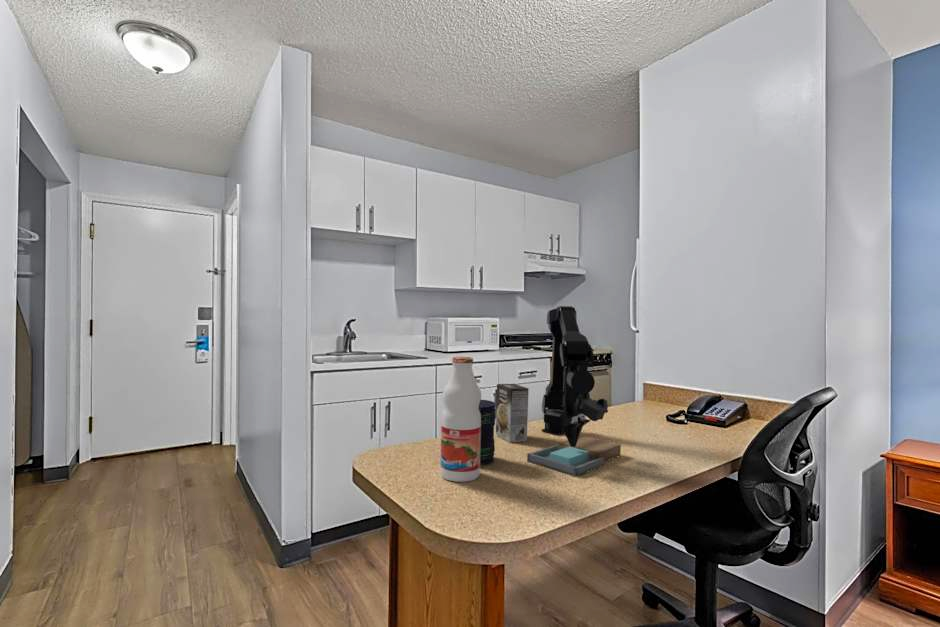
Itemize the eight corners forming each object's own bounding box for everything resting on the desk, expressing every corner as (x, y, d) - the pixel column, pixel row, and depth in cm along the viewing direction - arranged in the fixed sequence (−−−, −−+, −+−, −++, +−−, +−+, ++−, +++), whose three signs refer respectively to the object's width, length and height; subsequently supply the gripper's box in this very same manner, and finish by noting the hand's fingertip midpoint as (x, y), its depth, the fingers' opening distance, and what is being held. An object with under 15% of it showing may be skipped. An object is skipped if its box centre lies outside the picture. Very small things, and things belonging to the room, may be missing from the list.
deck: (560, 453, 134) (560, 442, 134) (582, 446, 142) (583, 435, 141) (598, 464, 125) (599, 452, 125) (620, 455, 133) (620, 445, 133)
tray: (527, 461, 126) (527, 453, 126) (555, 452, 135) (556, 444, 135) (576, 476, 116) (576, 468, 116) (603, 465, 124) (604, 458, 124)
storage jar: (491, 467, 121) (492, 408, 121) (452, 464, 123) (454, 405, 123) (497, 455, 131) (498, 400, 130) (461, 452, 133) (462, 398, 132)
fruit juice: (486, 472, 117) (488, 357, 117) (470, 485, 108) (472, 360, 108) (451, 466, 121) (453, 354, 121) (433, 478, 112) (435, 358, 112)
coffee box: (494, 435, 151) (496, 383, 151) (512, 433, 154) (513, 382, 154) (509, 443, 143) (510, 388, 143) (527, 441, 146) (529, 387, 145)
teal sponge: (549, 460, 125) (549, 452, 125) (569, 453, 132) (569, 446, 132) (568, 466, 121) (569, 458, 121) (588, 459, 127) (589, 451, 127)
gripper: (580, 395, 115) (579, 461, 115) (620, 387, 128) (619, 446, 128) (543, 389, 123) (541, 450, 123) (584, 382, 136) (582, 438, 136)
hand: (573, 446), depth 127 cm, fingers closed
